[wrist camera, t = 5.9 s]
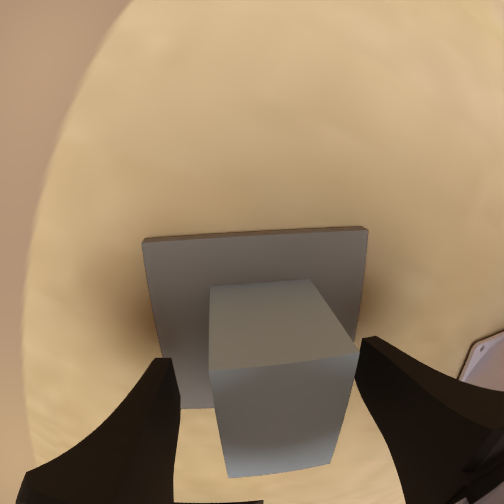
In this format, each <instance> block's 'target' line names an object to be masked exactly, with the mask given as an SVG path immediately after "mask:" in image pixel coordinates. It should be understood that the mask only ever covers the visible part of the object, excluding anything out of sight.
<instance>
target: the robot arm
mask: <svg viewBox="0 0 504 504" xmlns="http://www.w3.org/2000/svg"><path fill="white" fill-rule="evenodd" d="M354 378H355V381H356V384H357V387H358V389H359V392H360V394H361V397H362V399H363V401H364V403H365V404H366V406H367V408H368V410H369V412H370V414H371V415H372V417H373V419H374V421H375V422H376V424H377V426H378V428H379V430H380V431H381V433H382V435H383V437H384V439H385V441H386V443H387V445H388V448H389V450H390V453H391V456H392V458H393V461H394V464H395V467H396V470H397V473H398V476H399V479H400V482H401V486H402V490H403V494H404V497H405V502H406V504H504V331H503V332H501V333H499V334H496V335H494V336H492V337H489V338H487V339H484V340H482V341H479V342H477V343H475V344H474V345H473V347H472V349H471V351H470V354H469V356H468V359H467V361H466V364H465V366H464V368H463V371H462V373H461V375H460V377H459V379H458V380H457V379H455V378H452V377H450V376H447V375H445V374H443V373H441V372H439V371H437V370H435V369H433V368H431V367H429V366H427V365H425V364H423V363H421V362H419V361H418V360H416V359H414V358H413V357H411V356H409V355H407V354H406V353H404V352H402V351H401V350H399V349H398V348H396V347H394V346H393V345H391V344H389V343H388V342H386V341H384V340H382V339H381V338H379V337H377V336H373V337H367V338H362V342H361V347H360V354H359V358H358V363H357V368H356V372H355V377H354ZM180 410H181V396H180V392H179V388H178V384H177V380H176V375H175V371H174V367H173V363H172V358H155V359H154V360H153V361H152V362H151V364H150V365H149V367H148V368H147V370H146V371H145V373H144V374H143V375H142V377H141V378H140V380H139V381H138V382H137V384H136V385H135V386H134V388H133V389H132V390H131V391H130V393H129V394H128V395H127V397H126V398H125V399H124V400H123V401H122V402H121V404H120V405H119V406H118V407H117V408H116V409H115V411H114V412H113V413H112V414H111V415H110V416H109V417H108V418H107V419H106V420H105V421H104V422H103V423H102V424H101V425H100V426H99V427H98V428H97V429H96V430H94V431H93V432H92V433H91V434H90V435H88V436H87V437H86V438H85V439H83V440H82V441H81V442H79V443H78V444H77V445H76V446H74V447H73V448H71V449H70V450H68V451H67V452H65V453H63V454H62V455H60V456H58V457H57V458H55V459H53V460H51V461H50V462H48V463H46V464H43V465H41V466H39V467H37V468H35V469H33V470H30V471H28V472H26V474H25V476H24V479H23V481H22V484H21V488H20V490H19V493H18V496H17V499H16V504H174V497H173V473H174V462H175V455H176V447H177V440H178V433H179V425H180Z"/></svg>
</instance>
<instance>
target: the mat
mask: <svg viewBox="0 0 504 504" xmlns="http://www.w3.org/2000/svg"><path fill="white" fill-rule="evenodd" d="M367 241H368V230H367V229H366V228H364V227H362V226H361V227H335V228H312V229H291V230H272V231H253V232H236V233H219V234H203V235H188V236H173V237H159V238H145V239H144V240H143V241H142V243H141V244H142V251H143V258H144V265H145V271H146V277H147V283H148V289H149V294H150V300H151V305H152V310H153V315H154V320H155V325H156V330H157V334H158V339H159V343H160V348H161V352H162V356H163V358H172V363H173V367H174V371H175V375H176V380H177V384H178V388H179V392H180V396H181V409H201V408H215V407H214V401H213V395H212V389H211V383H210V377H209V310H210V286H223V285H237V284H251V283H264V282H277V281H289V280H301V279H310V280H311V281H312V283H313V284H314V286H315V287H316V288H317V290H318V291H319V293H320V294H321V296H322V297H323V299H324V300H325V301H326V303H327V304H328V306H329V307H330V309H331V310H332V312H333V313H334V315H335V316H336V317H337V319H338V320H339V322H340V323H341V325H342V326H343V328H344V329H345V331H346V332H347V334H348V335H349V337H350V338H351V340H352V341H353V343H354V340H355V334H356V328H357V322H358V316H359V309H360V302H361V295H362V287H363V279H364V271H365V262H366V252H367Z"/></svg>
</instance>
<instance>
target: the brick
mask: <svg viewBox="0 0 504 504" xmlns="http://www.w3.org/2000/svg"><path fill="white" fill-rule="evenodd" d="M359 354H360V352H359V350H358V349H357V347H356V346H355V344H354V343H353V341H352V340H351V338H350V337H349V335H348V334H347V332H346V331H345V329H344V328H343V326H342V325H341V323H340V322H339V320H338V319H337V317H336V316H335V315H334V313H333V312H332V310H331V309H330V307H329V306H328V304H327V303H326V301H325V300H324V299H323V297H322V296H321V294H320V293H319V291H318V290H317V288H316V287H315V286H314V284H313V283H312V281H311V280H310V279H301V280H289V281H277V282H264V283H251V284H237V285H223V286H210V310H209V377H210V383H211V389H212V395H213V401H214V407H215V413H216V418H217V424H218V429H219V434H220V440H221V445H222V450H223V455H224V460H225V464H226V469H227V474H228V478H238V477H250V476H260V475H268V474H276V473H283V472H289V471H295V470H301V469H306V468H311V467H316V466H321V465H326V464H330V462H331V459H332V456H333V453H334V450H335V446H336V443H337V440H338V437H339V433H340V430H341V427H342V423H343V420H344V416H345V412H346V409H347V405H348V401H349V397H350V393H351V389H352V385H353V381H354V377H355V372H356V368H357V363H358V358H359Z"/></svg>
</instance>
